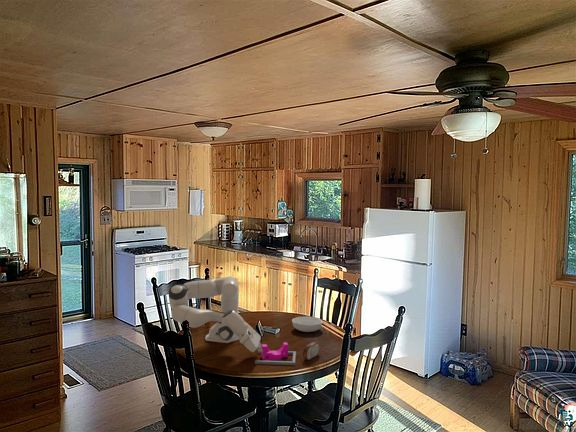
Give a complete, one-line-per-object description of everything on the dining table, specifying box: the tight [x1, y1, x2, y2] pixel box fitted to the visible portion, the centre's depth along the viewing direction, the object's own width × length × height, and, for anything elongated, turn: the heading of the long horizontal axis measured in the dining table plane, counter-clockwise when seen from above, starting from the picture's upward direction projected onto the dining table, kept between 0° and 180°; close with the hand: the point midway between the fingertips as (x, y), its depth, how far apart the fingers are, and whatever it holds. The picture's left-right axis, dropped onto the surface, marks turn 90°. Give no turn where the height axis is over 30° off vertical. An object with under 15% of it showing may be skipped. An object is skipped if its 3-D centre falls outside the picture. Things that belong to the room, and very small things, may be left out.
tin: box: [302, 340, 320, 361], centre depth 251 cm, size 15×3×8 cm, turn 146°
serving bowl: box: [291, 316, 323, 333], centre depth 301 cm, size 21×21×7 cm
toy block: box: [260, 341, 289, 361], centre depth 249 cm, size 15×6×8 cm, turn 107°
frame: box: [254, 349, 297, 366], centre depth 248 cm, size 22×17×2 cm
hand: (262, 350), depth 248 cm, fingers closed
